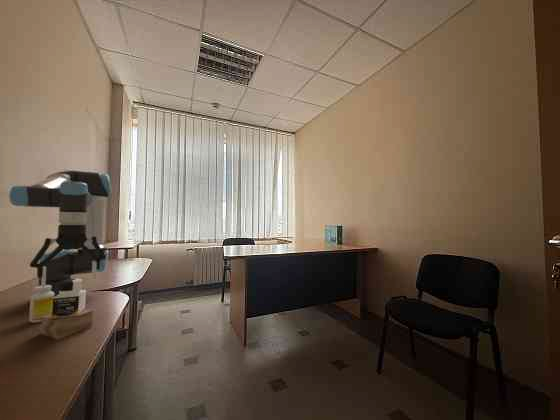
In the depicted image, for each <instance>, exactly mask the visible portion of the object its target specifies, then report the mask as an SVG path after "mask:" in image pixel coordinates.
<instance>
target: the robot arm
mask: <svg viewBox="0 0 560 420" xmlns="http://www.w3.org/2000/svg"><path fill="white" fill-rule="evenodd" d="M111 184H112V183H111V178H110V176H109V175H108V174H107V173H101V172H90V171H82V170H81V171H80V170H64V171H59V172H54V173H51V174H49V175H48V176H47V177H46V178H45V179H44V180H41V181H40V182H37V183H34V184H33V185H30V186H29V185H28V186H27V185H14V186H12V187H11V189H10V191H9V194H8V195H9V201H10V203H11V205H12V206H15V207H25V208H28V207H30V208H58V221H57V222H58V223H59V225H58V226H57V237H56V238H49V237H46V238H45V239H44V243H43V245H42V246H41V248H40V249H39V251H37V253H36V254H35V255H34V257H33V259H32V260H31V262H30V263H29V266H30V267H31V268H35V269H37V270H36V271H37V272H36V276H37V278H38V284H37V286H36V287H38V286H42V288H43V287H45V285H51V291H52V292H54V297H55V296H57V295H59V294H60V293H59V287H60V283H61V282H62V281H64V280H68V279H72V276H74V275H84V274H91V279H93V280H96V279H97V273H102V272H104V271H105V270H106V268H107V264H108V261H109V255H110V254H109V253H110V251H109V249H107V246H105V245H104V243H103V241H104V218H105V201H106V200H107V199H109V196H112V195H113V194H112V185H111ZM54 243H56V244H57V245H58V246H56V248H54V250H53V251H48V252H47V250H48V249H49V247H50V246H52V245H54ZM73 250H77V251H73ZM33 294H35V291H34V292H33Z"/></svg>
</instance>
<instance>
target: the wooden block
mask: <svg viewBox="0 0 560 420" xmlns="http://www.w3.org/2000/svg"><path fill="white" fill-rule="evenodd" d="M40 324H41V329H40V334H41V335H44V336H46V337H49V338H52V339H54V340H60V339H63V338H65V337H68V336H70V335H73V334H76V333H78V332H81V331H84V330H86V329H90V328H91V327H93V310H90V309H87V308H85V309H84V310H83V311H82V312H81V313H79V314H78V315H76V316H68V317H60V318H52V314H50V315H47V316H43V317H42V322H41V323H40Z"/></svg>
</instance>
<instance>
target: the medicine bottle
mask: <svg viewBox="0 0 560 420" xmlns="http://www.w3.org/2000/svg"><path fill="white" fill-rule="evenodd" d="M82 287H83V280H82V279H81V278H71V279H68V280H64V281H62V282H61V283H60V287H59V293H60V294H59V295H57V296H55V297H54V298H53V306H52V318H60V317H68V316H76V315H78V314H79V313H81V312H82V311H83V310H84V309H86V301H87V299H86V298H87V290H86V289H83V288H82Z"/></svg>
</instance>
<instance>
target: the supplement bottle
mask: <svg viewBox="0 0 560 420" xmlns="http://www.w3.org/2000/svg"><path fill="white" fill-rule="evenodd" d="M37 286H38V285H37ZM37 286H36V287H34V289H33V291H34V292H35V294H34V293H33V294H32V295H31V296H30V298H29V299H30V300H29V318H28V322H29V323H33V324H34V323H42V317H43V316H47V315H50V314H52V306H53V298H54V292H52V291H51V285H45V287H43V288H42V286H38V287H37Z"/></svg>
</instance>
